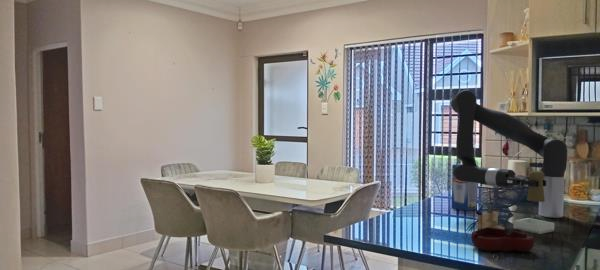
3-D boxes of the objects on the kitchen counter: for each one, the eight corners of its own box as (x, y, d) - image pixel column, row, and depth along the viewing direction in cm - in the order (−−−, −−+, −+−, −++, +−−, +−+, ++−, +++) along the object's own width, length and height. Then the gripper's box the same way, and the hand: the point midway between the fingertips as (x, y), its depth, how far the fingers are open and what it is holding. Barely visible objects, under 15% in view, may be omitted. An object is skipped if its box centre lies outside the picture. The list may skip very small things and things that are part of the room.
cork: (546, 202, 172) (548, 172, 171) (529, 201, 173) (530, 171, 173) (541, 199, 178) (543, 170, 177) (524, 198, 179) (525, 169, 178)
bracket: (493, 226, 181) (493, 202, 181) (505, 228, 177) (506, 205, 176) (477, 228, 176) (478, 204, 175) (490, 231, 171) (491, 207, 171)
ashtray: (512, 241, 159) (513, 226, 159) (538, 255, 143) (539, 239, 142) (460, 241, 158) (460, 226, 158) (480, 255, 142) (480, 238, 142)
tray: (528, 225, 183) (528, 217, 183) (554, 230, 175) (554, 222, 175) (513, 228, 178) (513, 220, 177) (539, 234, 169) (539, 225, 169)
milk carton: (451, 207, 219) (452, 164, 219) (461, 206, 222) (462, 164, 221) (467, 211, 210) (468, 166, 210) (477, 210, 213) (478, 166, 212)
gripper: (489, 169, 183) (532, 174, 169) (511, 167, 191) (553, 172, 177) (488, 188, 184) (531, 195, 169) (510, 186, 192) (552, 192, 177)
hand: (542, 183), depth 173 cm, fingers closed on cork, 4 cm apart
